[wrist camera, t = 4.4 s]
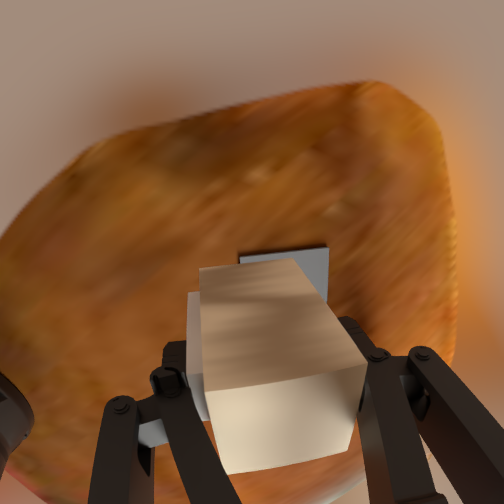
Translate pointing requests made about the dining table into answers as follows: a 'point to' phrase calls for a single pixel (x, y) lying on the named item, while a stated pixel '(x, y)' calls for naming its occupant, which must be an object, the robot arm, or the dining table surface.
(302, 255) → the pad
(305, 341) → the block
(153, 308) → the dining table surface
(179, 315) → the dining table surface
